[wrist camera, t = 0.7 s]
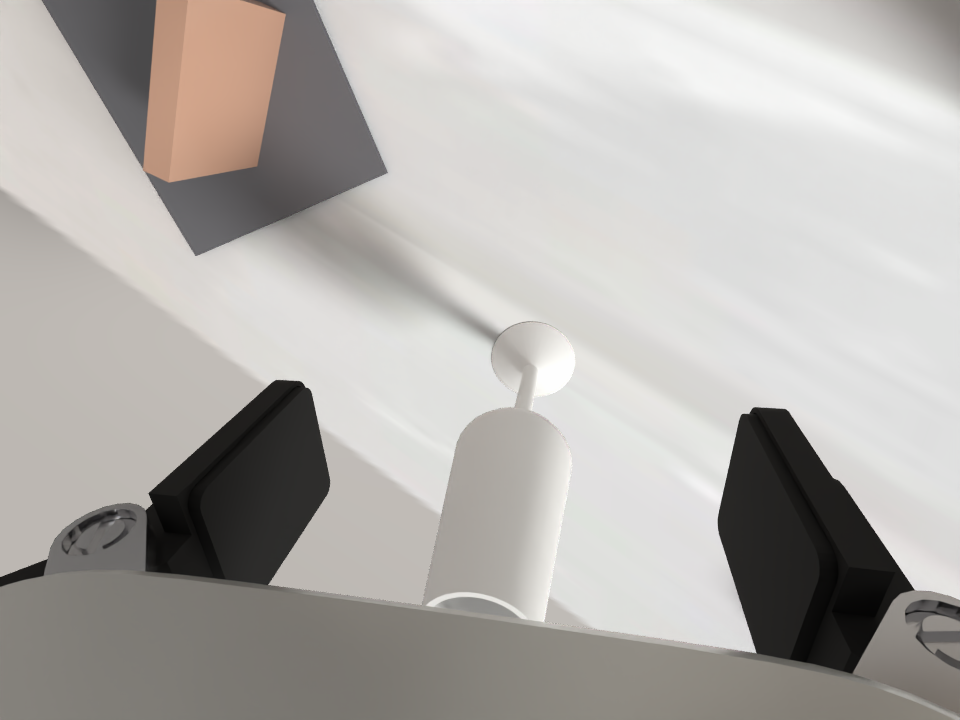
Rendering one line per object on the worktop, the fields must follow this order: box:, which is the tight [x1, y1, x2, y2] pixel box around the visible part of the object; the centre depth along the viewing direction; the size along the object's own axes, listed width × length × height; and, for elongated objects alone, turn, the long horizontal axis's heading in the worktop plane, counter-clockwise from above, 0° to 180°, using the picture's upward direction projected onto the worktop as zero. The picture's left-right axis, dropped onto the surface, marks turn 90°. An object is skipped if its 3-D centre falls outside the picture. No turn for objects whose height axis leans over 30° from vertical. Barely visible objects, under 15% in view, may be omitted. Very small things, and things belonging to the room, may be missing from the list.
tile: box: [143, 0, 286, 182], centre depth 31 cm, size 10×2×9 cm, turn 157°
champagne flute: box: [422, 322, 575, 622], centre depth 30 cm, size 7×7×24 cm
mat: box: [42, 0, 388, 256], centre depth 35 cm, size 20×18×1 cm
